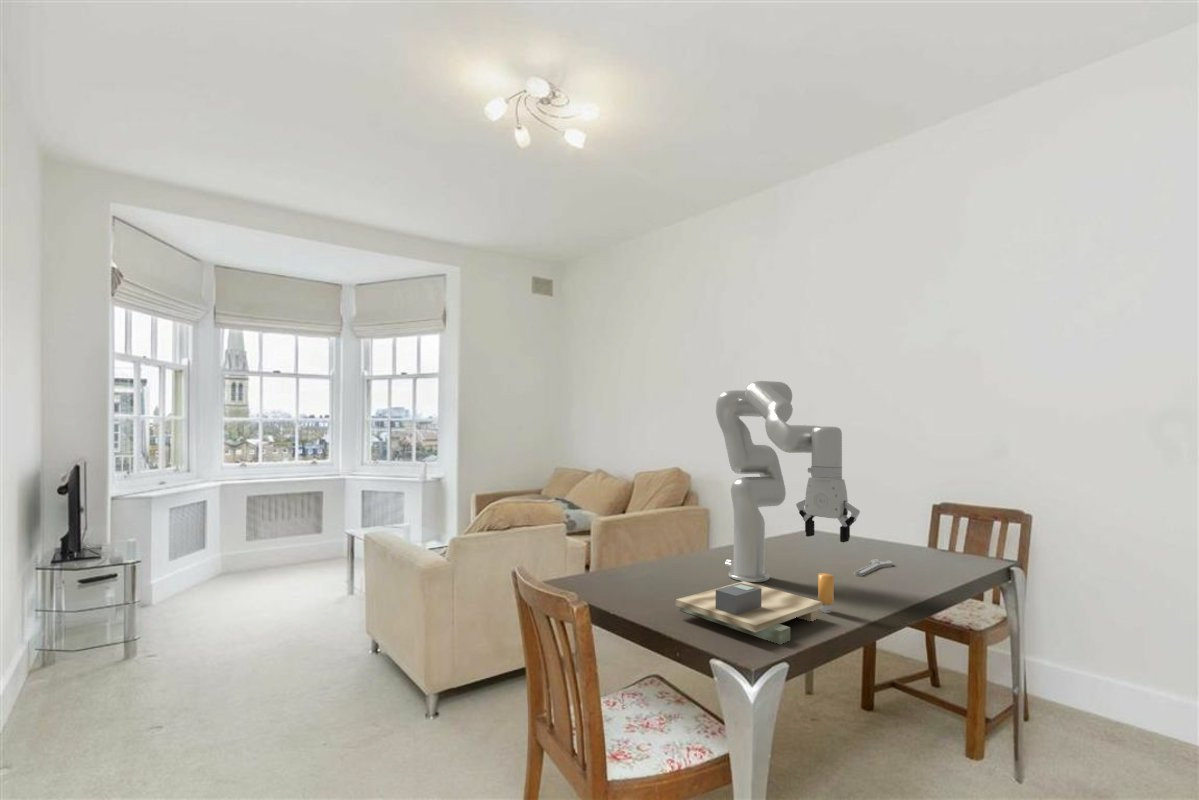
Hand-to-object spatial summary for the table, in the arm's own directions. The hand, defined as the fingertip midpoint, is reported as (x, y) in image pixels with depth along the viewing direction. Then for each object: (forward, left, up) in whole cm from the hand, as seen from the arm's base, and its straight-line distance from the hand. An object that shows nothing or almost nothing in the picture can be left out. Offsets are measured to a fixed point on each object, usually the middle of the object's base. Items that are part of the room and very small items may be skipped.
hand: (826, 538), depth 159 cm
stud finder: (-7, -28, -15) cm, 32 cm away
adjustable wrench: (-15, +55, -20) cm, 60 cm away
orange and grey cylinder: (0, 0, -19) cm, 19 cm away
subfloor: (-9, -21, -19) cm, 30 cm away
